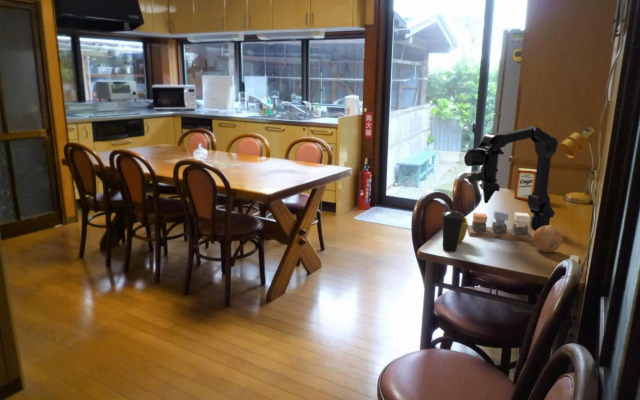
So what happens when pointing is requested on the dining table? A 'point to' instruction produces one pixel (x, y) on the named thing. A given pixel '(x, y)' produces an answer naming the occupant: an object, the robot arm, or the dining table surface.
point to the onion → (547, 238)
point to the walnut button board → (499, 232)
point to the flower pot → (463, 230)
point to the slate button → (500, 217)
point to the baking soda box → (525, 183)
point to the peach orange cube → (479, 218)
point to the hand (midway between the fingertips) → (485, 203)
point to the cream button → (521, 219)
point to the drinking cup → (451, 228)
